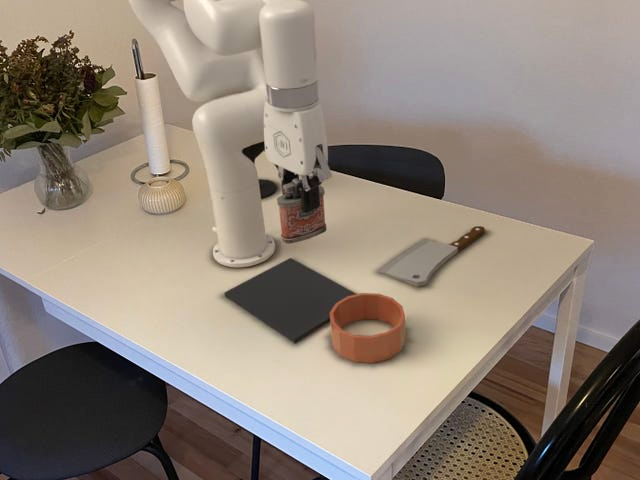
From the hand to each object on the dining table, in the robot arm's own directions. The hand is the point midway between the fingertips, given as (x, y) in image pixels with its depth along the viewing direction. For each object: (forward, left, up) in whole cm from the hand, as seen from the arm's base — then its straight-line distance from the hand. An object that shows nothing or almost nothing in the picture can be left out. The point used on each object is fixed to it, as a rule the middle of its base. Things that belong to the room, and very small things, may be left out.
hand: (301, 203), depth 106 cm
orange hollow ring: (+13, +1, -21) cm, 25 cm away
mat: (-5, 0, -21) cm, 21 cm away
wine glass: (-46, +23, -21) cm, 55 cm away
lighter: (0, 0, -6) cm, 6 cm away
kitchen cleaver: (+5, +28, -21) cm, 36 cm away
